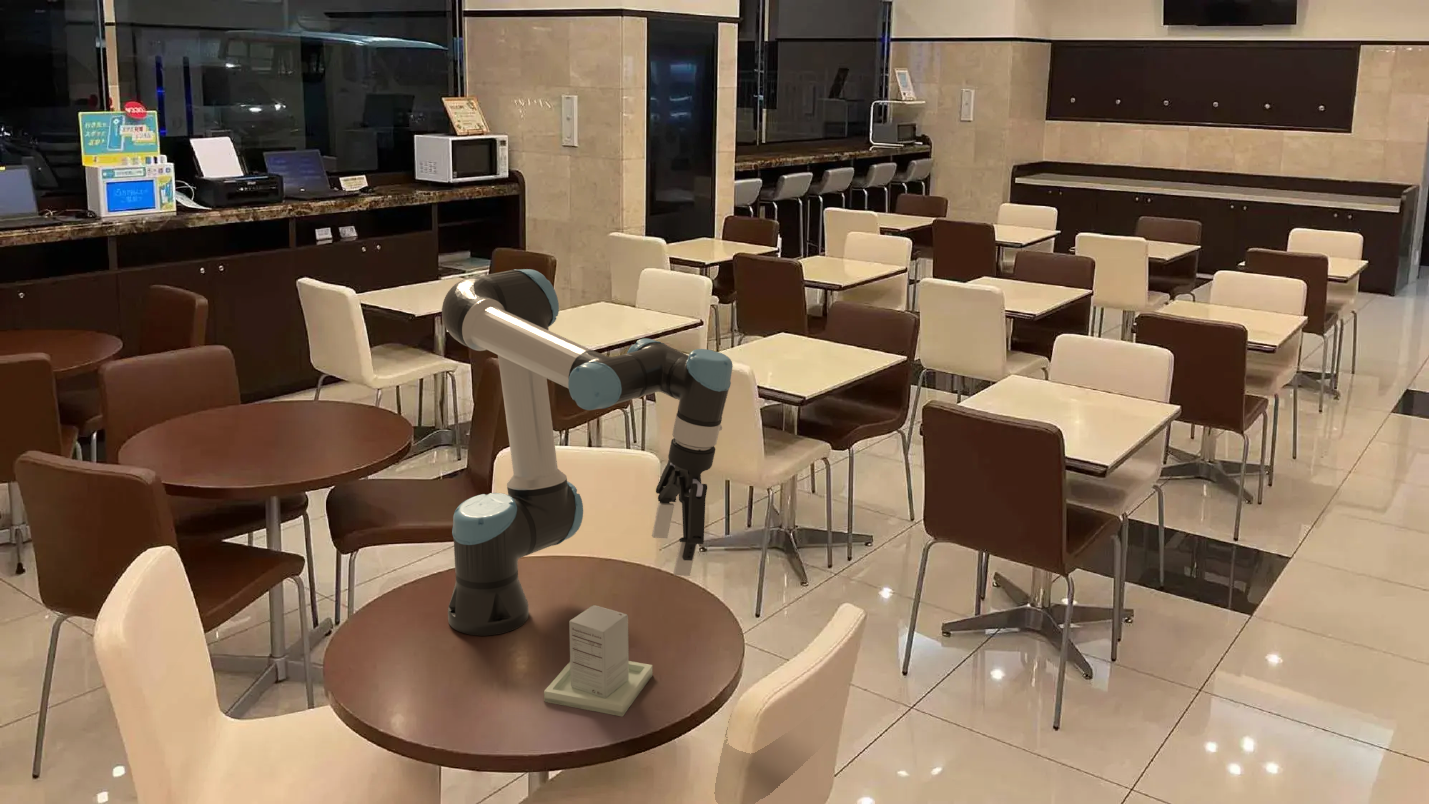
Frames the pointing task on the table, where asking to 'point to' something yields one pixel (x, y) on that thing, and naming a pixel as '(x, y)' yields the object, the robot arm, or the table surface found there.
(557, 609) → the table surface
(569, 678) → the tray
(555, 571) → the table surface
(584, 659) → the supplement box
